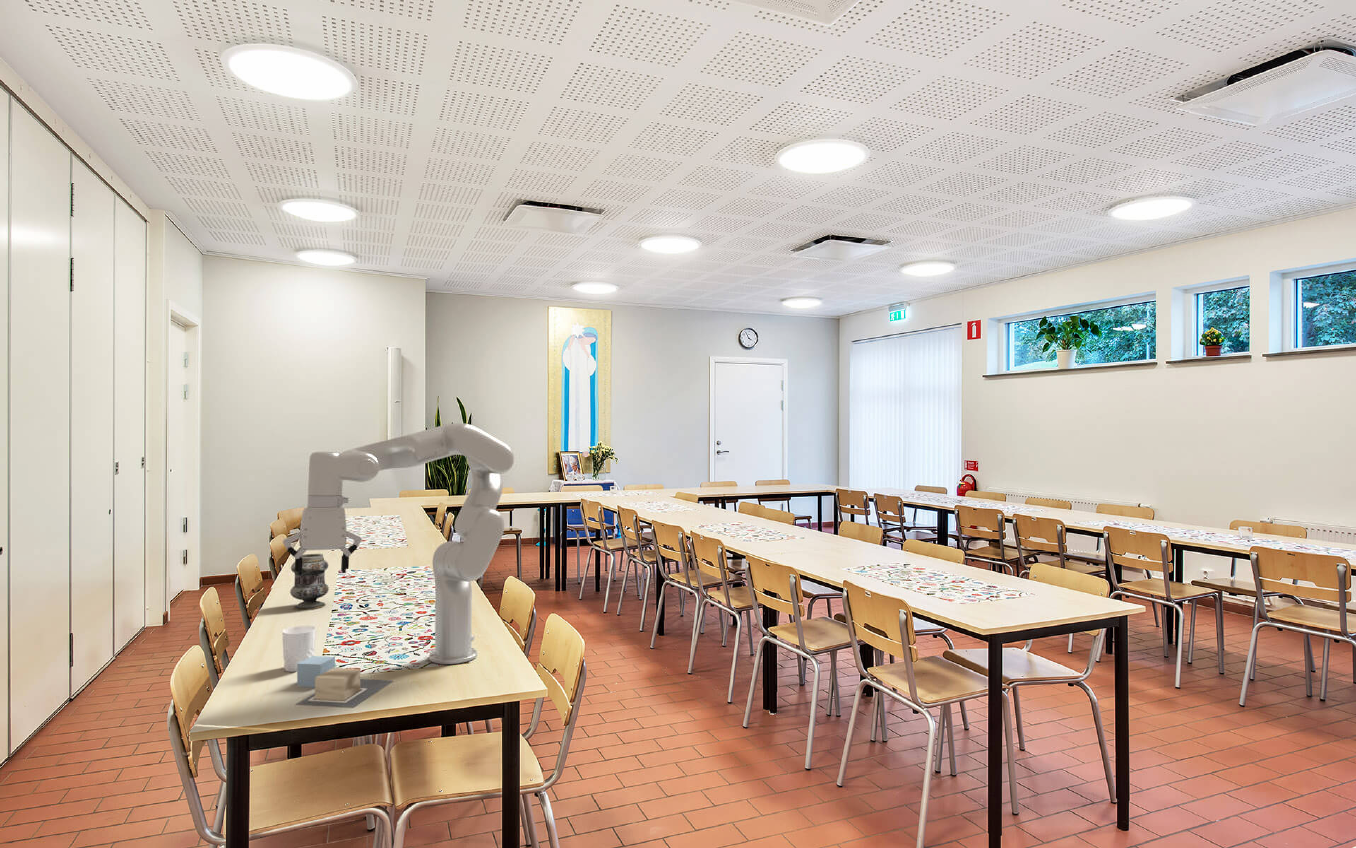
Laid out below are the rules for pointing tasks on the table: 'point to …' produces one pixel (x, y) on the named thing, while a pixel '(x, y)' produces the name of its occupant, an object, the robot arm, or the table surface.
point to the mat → (365, 692)
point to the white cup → (298, 645)
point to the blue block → (313, 669)
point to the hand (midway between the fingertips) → (321, 573)
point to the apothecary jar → (310, 582)
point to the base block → (337, 684)
